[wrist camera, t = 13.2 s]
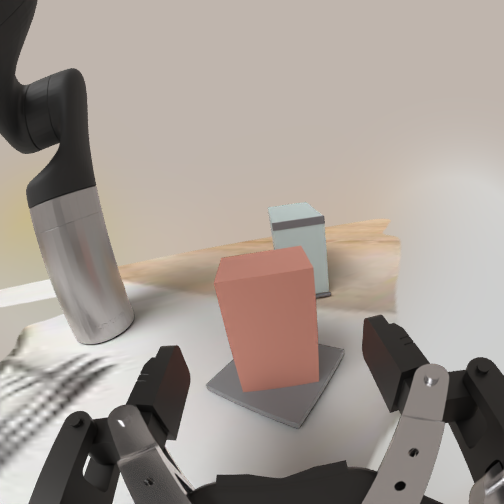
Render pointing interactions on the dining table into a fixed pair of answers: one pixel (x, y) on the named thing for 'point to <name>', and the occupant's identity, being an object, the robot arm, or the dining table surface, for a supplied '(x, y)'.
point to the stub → (270, 317)
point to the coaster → (279, 391)
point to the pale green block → (302, 237)
